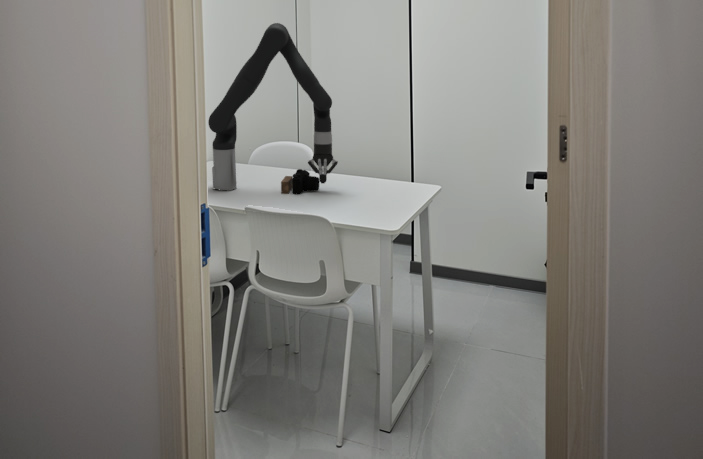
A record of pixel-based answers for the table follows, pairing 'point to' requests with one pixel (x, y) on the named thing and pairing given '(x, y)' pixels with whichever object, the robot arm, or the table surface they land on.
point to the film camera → (304, 182)
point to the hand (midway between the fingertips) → (323, 183)
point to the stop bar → (286, 185)
